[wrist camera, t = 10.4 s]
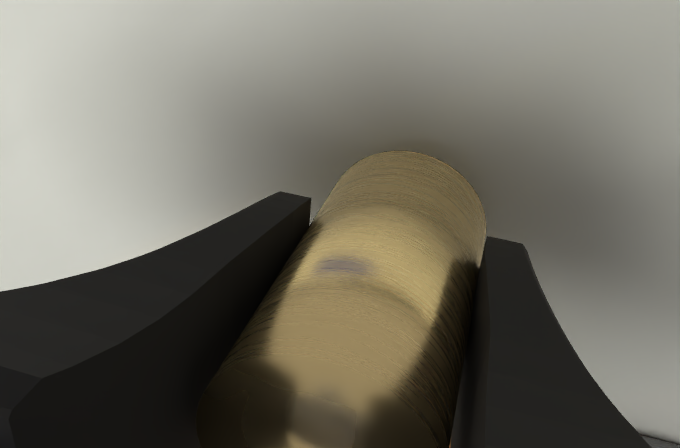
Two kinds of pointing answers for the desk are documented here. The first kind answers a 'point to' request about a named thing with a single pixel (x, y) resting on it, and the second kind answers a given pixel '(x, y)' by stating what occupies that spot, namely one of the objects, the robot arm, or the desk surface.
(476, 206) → the roller
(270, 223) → the robot arm
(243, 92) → the desk surface
